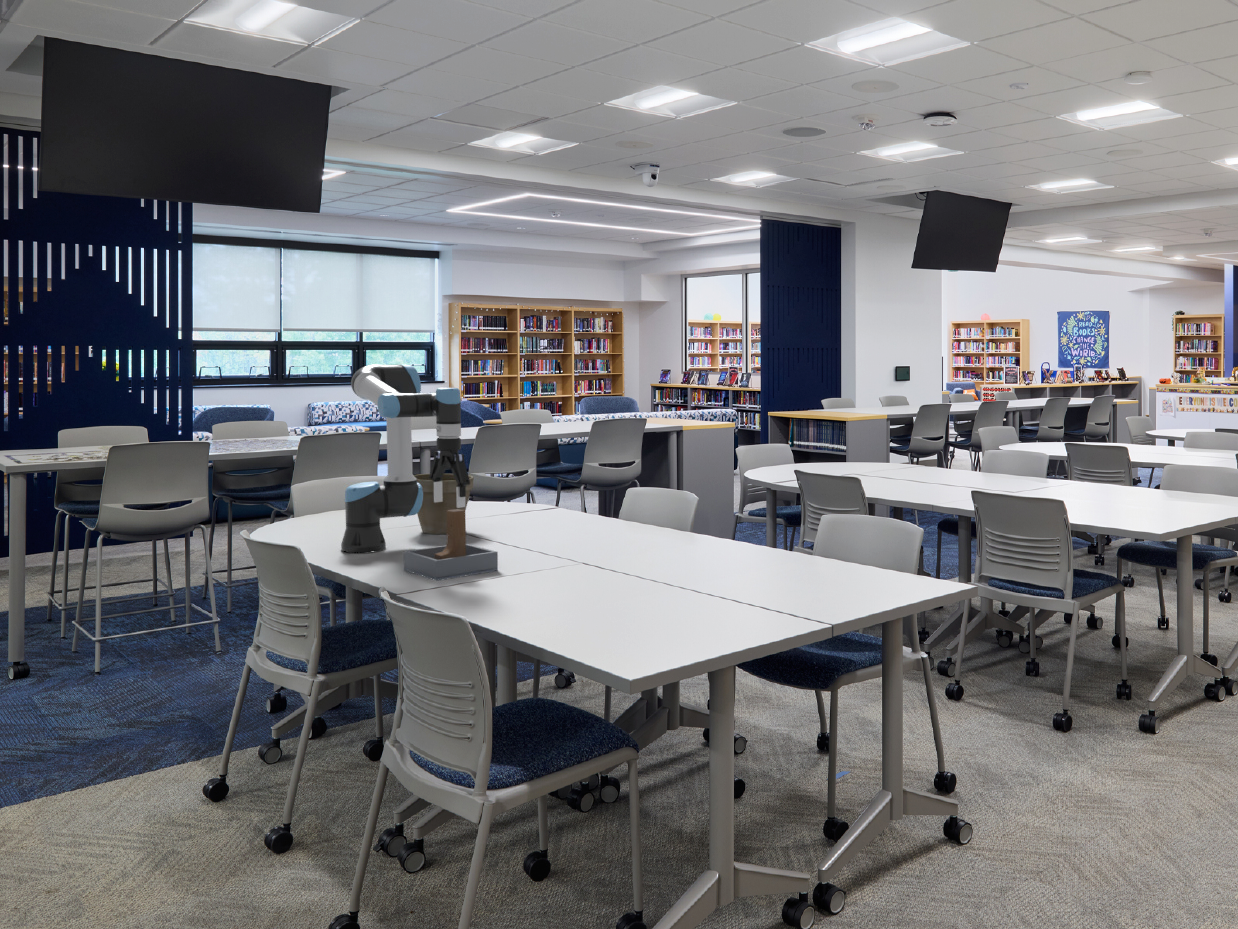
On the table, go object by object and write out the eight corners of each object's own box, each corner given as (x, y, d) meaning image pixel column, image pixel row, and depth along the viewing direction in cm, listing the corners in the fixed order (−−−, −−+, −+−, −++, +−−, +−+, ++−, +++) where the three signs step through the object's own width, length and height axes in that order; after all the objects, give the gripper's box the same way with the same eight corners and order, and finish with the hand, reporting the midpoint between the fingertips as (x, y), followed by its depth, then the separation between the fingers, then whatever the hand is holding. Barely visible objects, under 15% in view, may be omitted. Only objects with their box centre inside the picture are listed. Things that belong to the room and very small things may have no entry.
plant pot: (482, 527, 383) (482, 473, 381) (461, 538, 359) (460, 480, 357) (424, 525, 388) (423, 472, 385) (399, 535, 364) (397, 479, 361)
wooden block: (441, 570, 298) (440, 513, 296) (434, 567, 301) (433, 511, 299) (466, 566, 303) (465, 510, 301) (459, 564, 307) (458, 508, 305)
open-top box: (404, 570, 303) (403, 551, 302) (463, 560, 317) (463, 542, 317) (436, 580, 288) (436, 561, 287) (497, 570, 302) (497, 551, 302)
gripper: (417, 435, 305) (418, 500, 307) (459, 440, 286) (460, 510, 289) (438, 433, 310) (439, 498, 312) (480, 439, 291) (481, 508, 294)
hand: (449, 504), depth 301 cm, fingers open, 13 cm apart
